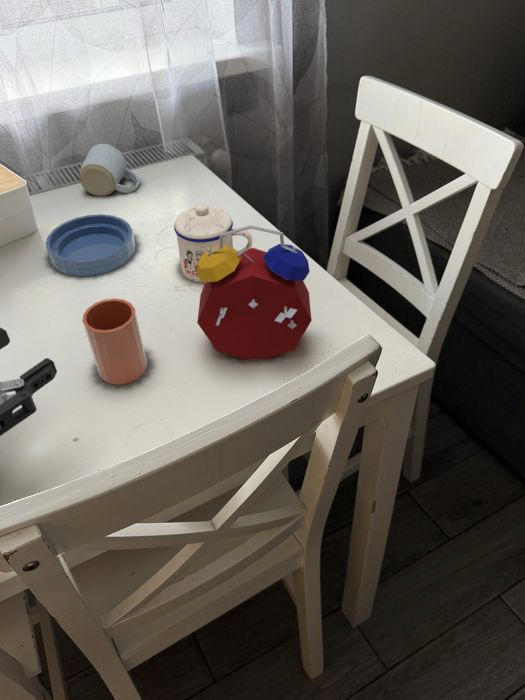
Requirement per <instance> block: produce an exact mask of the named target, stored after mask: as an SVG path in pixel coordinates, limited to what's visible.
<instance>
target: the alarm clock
mask: <svg viewBox="0 0 525 700" xmlns="http://www.w3.org/2000/svg"><path fill="white" fill-rule="evenodd" d="M235 229H236V230H232V231H228V232H225V233H221V234H220V236H219V246H214V247H213V248H211V249H210V248H209V249H208V251H206V252H205V253H203V254H202V256H201V258H200V259H199V261H198V263H197V276H198V277H199V279H200V281H201V282H200V283H201V284H202V283H203V282H205V283H204V285H203V287H202V289H201V292H200V295H199V305H198V313H197V321H196V323H197V325H198V326H199V328H200V329H201V330H202V332H203V333H204V335H205V336H206V338H207V339H208V341H209V342H210V344H211V345H212V346H213V348H214V350H215V351H216V352H218V353H220V354H224V355H228V356H232V357H236V358H240V359H243V360H268V359H270V358H274V357H277V356H280V355H283V354H286V353H290V352H294V351H295V350H296V348H297V347H298V345H299V343H300V341H301V339H302V338H303V336H304V335H305V333H306V331H307V329H308V328H309V326H310V324H311V323H312V310H311V300H310V299H311V298H310V291H309V289H308V287H307V285H306V283H305V280H306V279H307V277H308V276H309V274H310V272H311V271H310V265H309V260H308V258H307V257H306V255H305V253H304V252H303V251H302V250H300V249H299V248H297V246H294V245H292V244H285V237H284V232H282V231H278V230H274V229H269V228H265V227H260V226H256V225H247V226H243V227H240V228H235ZM251 229H252V230H256V231H259V232H264V233H269V234H275V235H277V236H278V235H279V239H280V241H279V243H278V244H277V245H274V246H272V247H270V248H269V249H268V250H267V251H264V250H262V249H258V248H256V247H251V249H248V250H247V248H246V246H244V247H243V248H241V249H240V250H237V249H235V248H234V247H233V248H231V247H229V246H226V245H223V236H226V235H229V234H233V233H237V232H240V231H244V230H246V231H247V230H251ZM237 251H239V252H237Z"/></svg>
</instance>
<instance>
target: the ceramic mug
mask: <svg viewBox="0 0 525 700" xmlns="http://www.w3.org/2000/svg"><path fill="white" fill-rule="evenodd" d="M127 167H128V165H127V160H126V157H125V156H124V154H123V153H122V152H121V151H120V150H119V149H118V148H116V147H114V146H113V145H111V144H109V143H99V144H95V145H93V146H92V147H91V148H90V149H89V151H88V153H87V154H86V157H85V159H84V160H83V163H82V164H81V167H80V169H79V183H80V184H81V186H82V188H83V189H84V190H85V191H86V192H87V193H89V195H90V194H91V195H93V196H95V197H106V196H109V195H111V194H112V193H113V192H114V191H118V192H120V193H124V194H130V193H132V192H135V191H136V190H137V189H138V188H139V186H140V182H141V180H140V178H139V177H138V175H137V174H136V173H134V172H133V171H132V170H130V169H129V168H127ZM124 176H125V177H127V178H129V179H130V180H132V181H133V182H134V183H135V184H134V185H133V186H127V185H123V184H120V183H121V180H122V179H123V178H124Z"/></svg>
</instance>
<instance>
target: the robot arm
mask: <svg viewBox="0 0 525 700" xmlns="http://www.w3.org/2000/svg"><path fill="white" fill-rule="evenodd" d="M10 343H11V339H10V336H9V334H8V332H7V330H6V329H4V328H2V327H0V350H2V349H4V348H5V347H7V346H8V345H10ZM57 373H58V370H57V367H56V364H55V361H53V359H50V358H48V357H46V358H43V360H41V361H40V362H37V364H36V365H34V366H33V367H31V368H29V369H28V370H27V371H25V372H24V373H22V374H21V375H20V376H19V378H15V379H12V380H7V381H0V437H1V436H3V435H4V434H5V433H7V432H8V431H10V430H12V429H13V428H15V427H16V426H17V425H19V424H20V423H22V422H23V421H24V420H26V419H28V418H29V417H30V416H32V415H33V414H34V413H36V411H37V410H38V409H37V405H36V404H35V402H34V399H33V396H34V394H35V393H37V392H38V391H39V390H41V389H42V388H43V387H45V386H46V385H48V384H49V383H50V382H52V381H53V380H54V379H55V377H56V375H57ZM12 392H15V393H12ZM7 393H10V394H7ZM11 393H12V394H11ZM19 407H20V408H19ZM16 409H17V410H16Z"/></svg>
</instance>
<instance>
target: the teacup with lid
mask: <svg viewBox="0 0 525 700" xmlns="http://www.w3.org/2000/svg"><path fill="white" fill-rule="evenodd" d="M233 226H234V222H233V219H232V217H231V216H230V214H229V213H228V212H227V211H225V210H224V209H221V208H218V207H214V206H208V205H207V204H205V203H200V204H197V205H196V206H195V207H192V208H190V209H186V210H185V211H183V212H181V213H180V214H179V215H178V216H177V218H176V219H175V221H174V225H173V230H174V232H175V234H176V240H177V248H178V253H179V260H180V268H181V273H182V274H183V276H184V277H185V278H186V279H188V280H191V281H192V282H195V283H202V282H201V281H200V279H199V277H198V276H197V263H198V261H199V259H200V258H201V256H202V254H203V253H205V252H206V251H208V249H209V248H210V249H211V248H213V247H214V246H219V236H220V234H221V233H225V232H228V231H232V230H236V229H237V228H233ZM233 236H241V237H244V238H246V240H247V244H246V246H245V247H246V248H247V250H248V249H251V248H253V247H252V246H253V236H252V235H251V233H250V231H247V230H244V231H240V232H237V233H233V234H229V235H226V236H223V245H226V246H229V247H231V248H233V249H234V244H233V243H234V242H233ZM236 251H237V252H239V251H240V250H236ZM203 283H204V284H205V282H203Z"/></svg>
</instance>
